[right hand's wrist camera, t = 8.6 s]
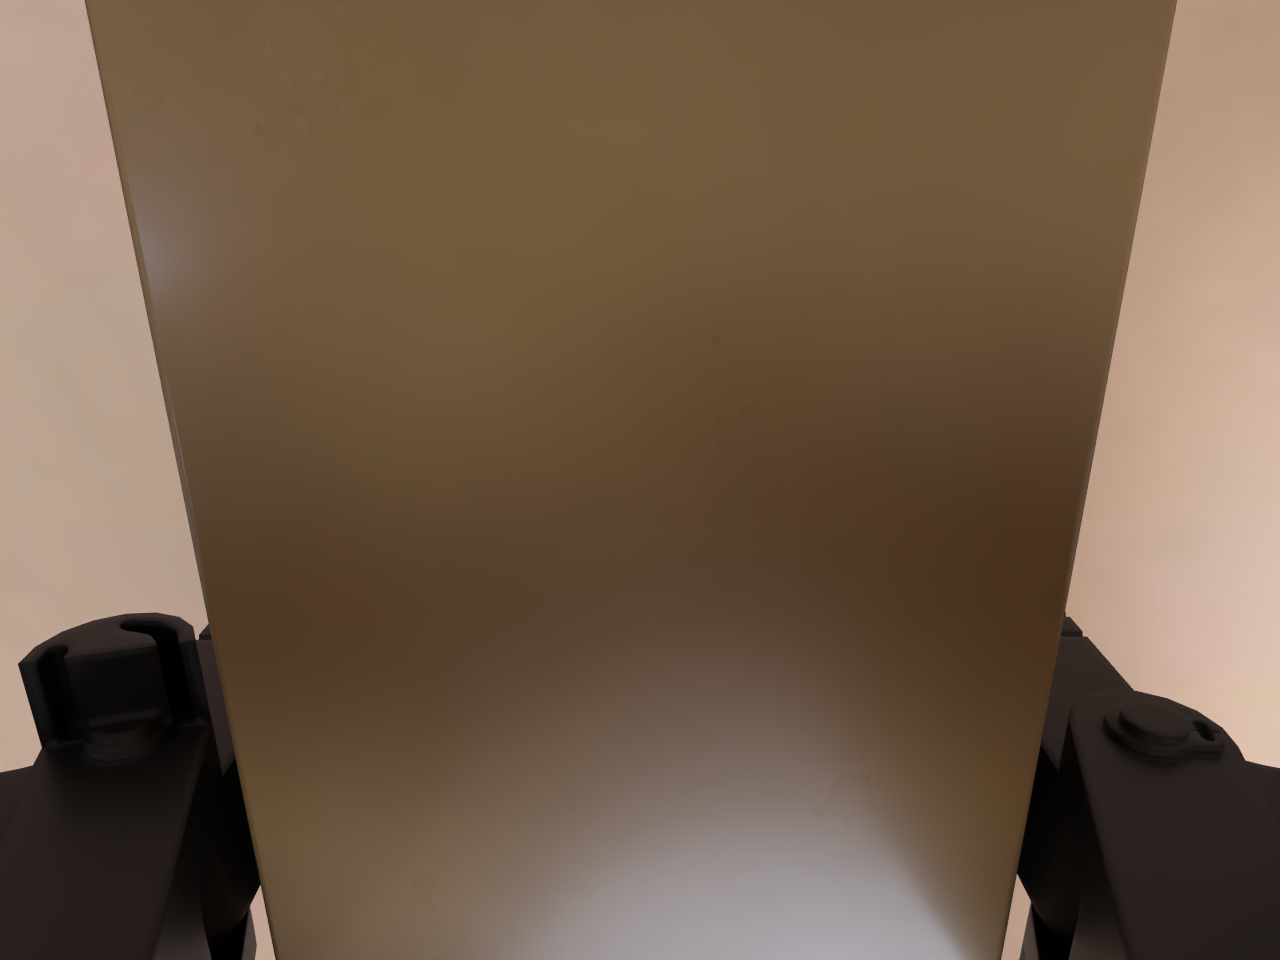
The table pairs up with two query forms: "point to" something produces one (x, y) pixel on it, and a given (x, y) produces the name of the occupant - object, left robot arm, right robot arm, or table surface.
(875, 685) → the beam
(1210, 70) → the table surface
